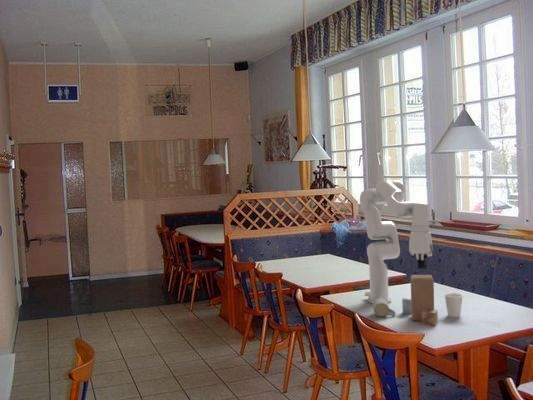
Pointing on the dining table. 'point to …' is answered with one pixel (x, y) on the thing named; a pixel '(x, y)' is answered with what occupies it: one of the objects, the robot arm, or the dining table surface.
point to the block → (421, 295)
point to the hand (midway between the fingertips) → (421, 268)
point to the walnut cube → (429, 317)
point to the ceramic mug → (382, 308)
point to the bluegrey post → (406, 305)
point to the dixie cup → (453, 304)
